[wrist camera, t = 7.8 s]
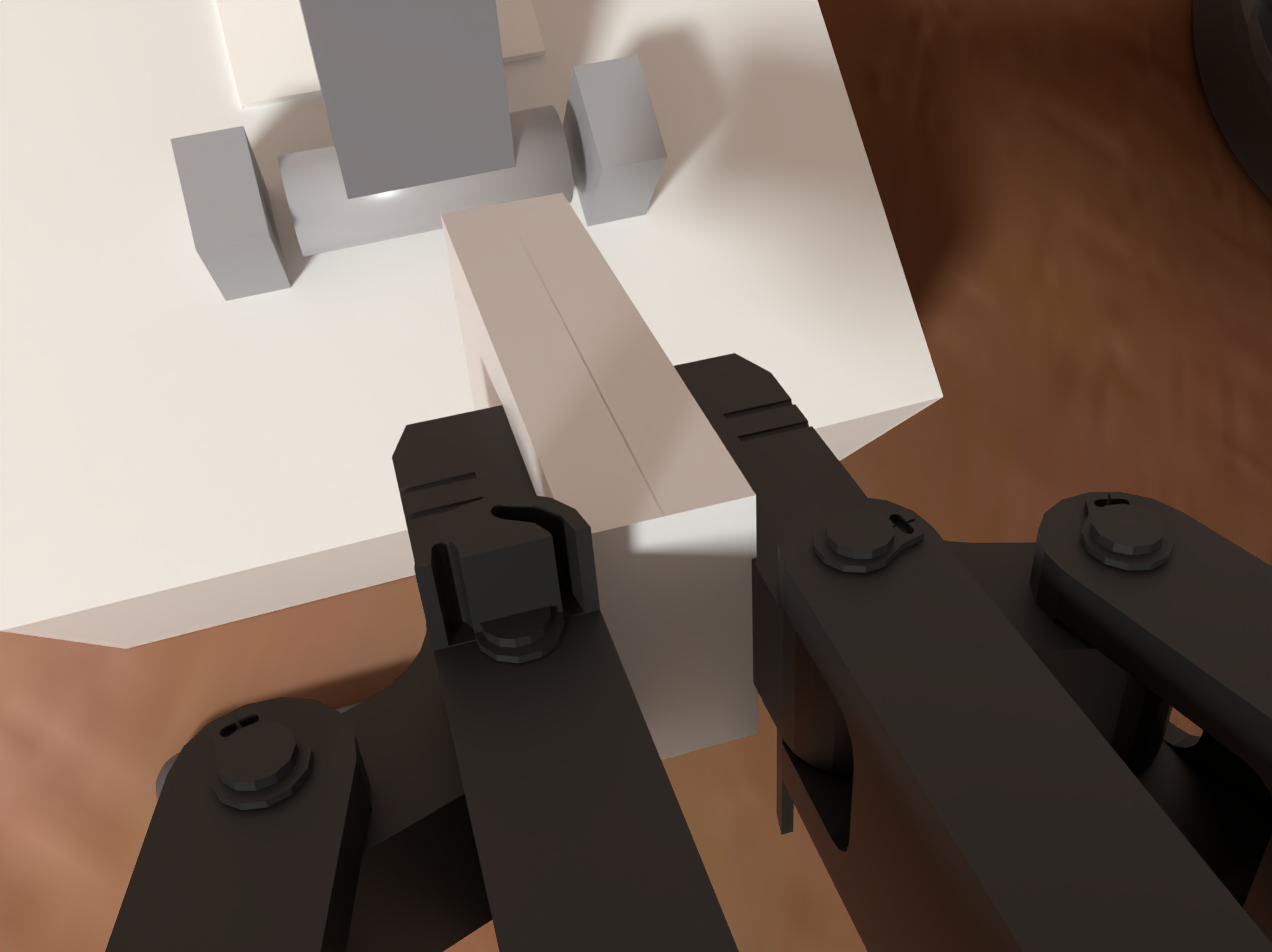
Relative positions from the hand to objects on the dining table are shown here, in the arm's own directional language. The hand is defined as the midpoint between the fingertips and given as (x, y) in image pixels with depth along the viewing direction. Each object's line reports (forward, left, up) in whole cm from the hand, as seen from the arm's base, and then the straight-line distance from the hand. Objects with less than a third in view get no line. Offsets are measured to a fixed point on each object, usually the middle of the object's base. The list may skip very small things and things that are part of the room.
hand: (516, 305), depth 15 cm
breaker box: (-1, -2, -16) cm, 16 cm away
